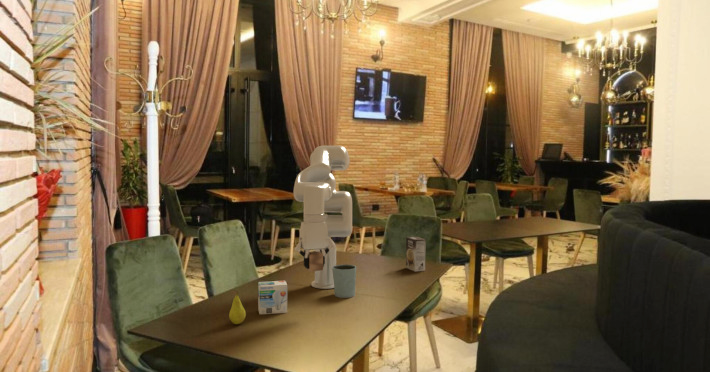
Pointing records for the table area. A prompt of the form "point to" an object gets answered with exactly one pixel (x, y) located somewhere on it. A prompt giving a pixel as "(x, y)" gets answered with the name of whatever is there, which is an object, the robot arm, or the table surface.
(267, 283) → the light bulb box
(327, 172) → the robot arm
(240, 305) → the fruit
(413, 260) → the coffee box
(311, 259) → the walnut block
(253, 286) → the table surface
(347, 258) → the table surface
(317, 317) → the table surface
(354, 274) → the blue cup
